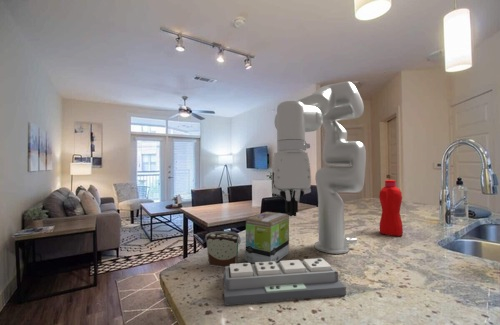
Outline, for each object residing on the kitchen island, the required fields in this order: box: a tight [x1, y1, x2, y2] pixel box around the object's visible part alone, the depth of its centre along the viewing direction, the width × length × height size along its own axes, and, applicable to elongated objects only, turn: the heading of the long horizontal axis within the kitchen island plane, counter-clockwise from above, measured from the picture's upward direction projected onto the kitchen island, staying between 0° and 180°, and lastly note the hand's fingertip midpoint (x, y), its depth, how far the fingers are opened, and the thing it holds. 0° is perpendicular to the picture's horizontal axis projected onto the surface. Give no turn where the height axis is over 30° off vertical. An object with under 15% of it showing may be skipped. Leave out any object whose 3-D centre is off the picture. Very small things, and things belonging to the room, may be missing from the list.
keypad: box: [222, 260, 347, 306], centre depth 65 cm, size 30×14×4 cm, turn 97°
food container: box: [204, 230, 242, 268], centre depth 80 cm, size 12×6×10 cm, turn 71°
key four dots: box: [255, 261, 280, 276], centre depth 64 cm, size 6×6×2 cm
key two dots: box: [230, 262, 253, 278], centre depth 63 cm, size 6×6×2 cm
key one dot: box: [279, 259, 306, 274], centre depth 65 cm, size 6×6×2 cm
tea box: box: [244, 211, 290, 264], centre depth 85 cm, size 15×10×15 cm, turn 148°
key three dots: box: [303, 257, 332, 272], centre depth 66 cm, size 6×6×2 cm
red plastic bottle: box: [378, 179, 404, 237], centre depth 113 cm, size 9×11×25 cm
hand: (291, 215), depth 65 cm, fingers closed
